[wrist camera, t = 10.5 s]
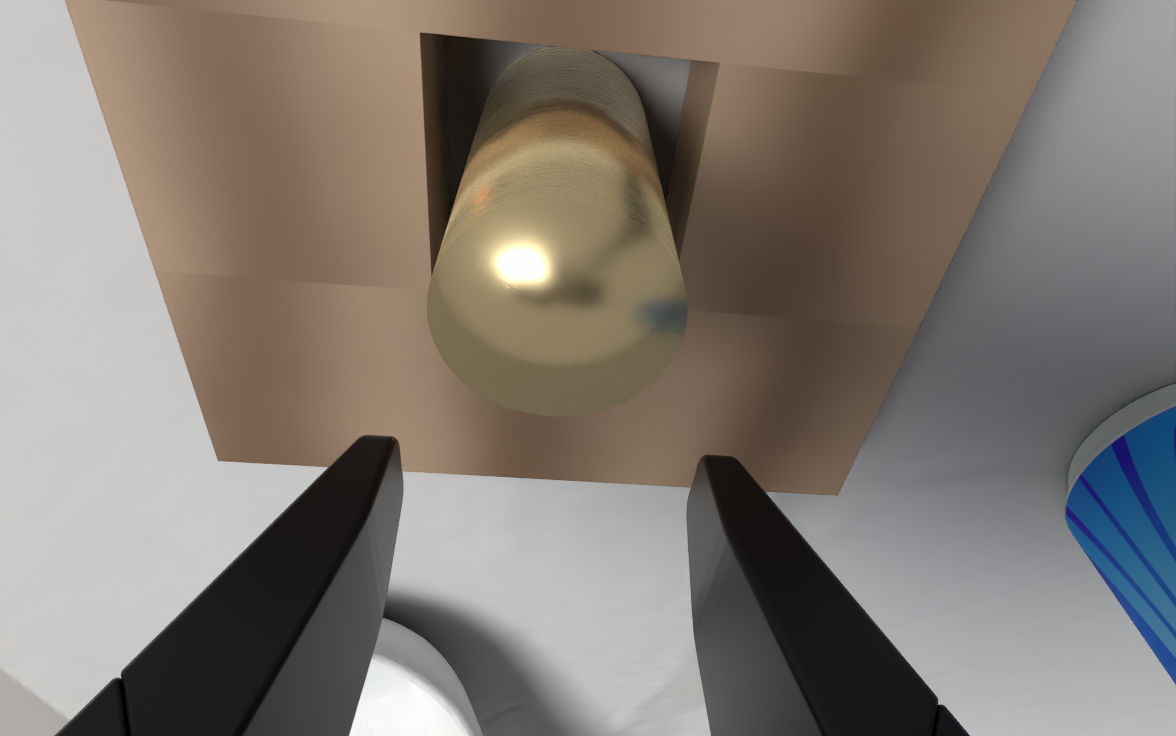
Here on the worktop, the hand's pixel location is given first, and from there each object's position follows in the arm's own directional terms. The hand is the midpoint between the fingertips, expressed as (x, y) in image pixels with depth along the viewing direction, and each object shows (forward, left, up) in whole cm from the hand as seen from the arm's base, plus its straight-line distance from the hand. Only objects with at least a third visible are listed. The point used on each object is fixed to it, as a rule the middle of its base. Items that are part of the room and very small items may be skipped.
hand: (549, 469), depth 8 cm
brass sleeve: (0, 0, -11) cm, 11 cm away
